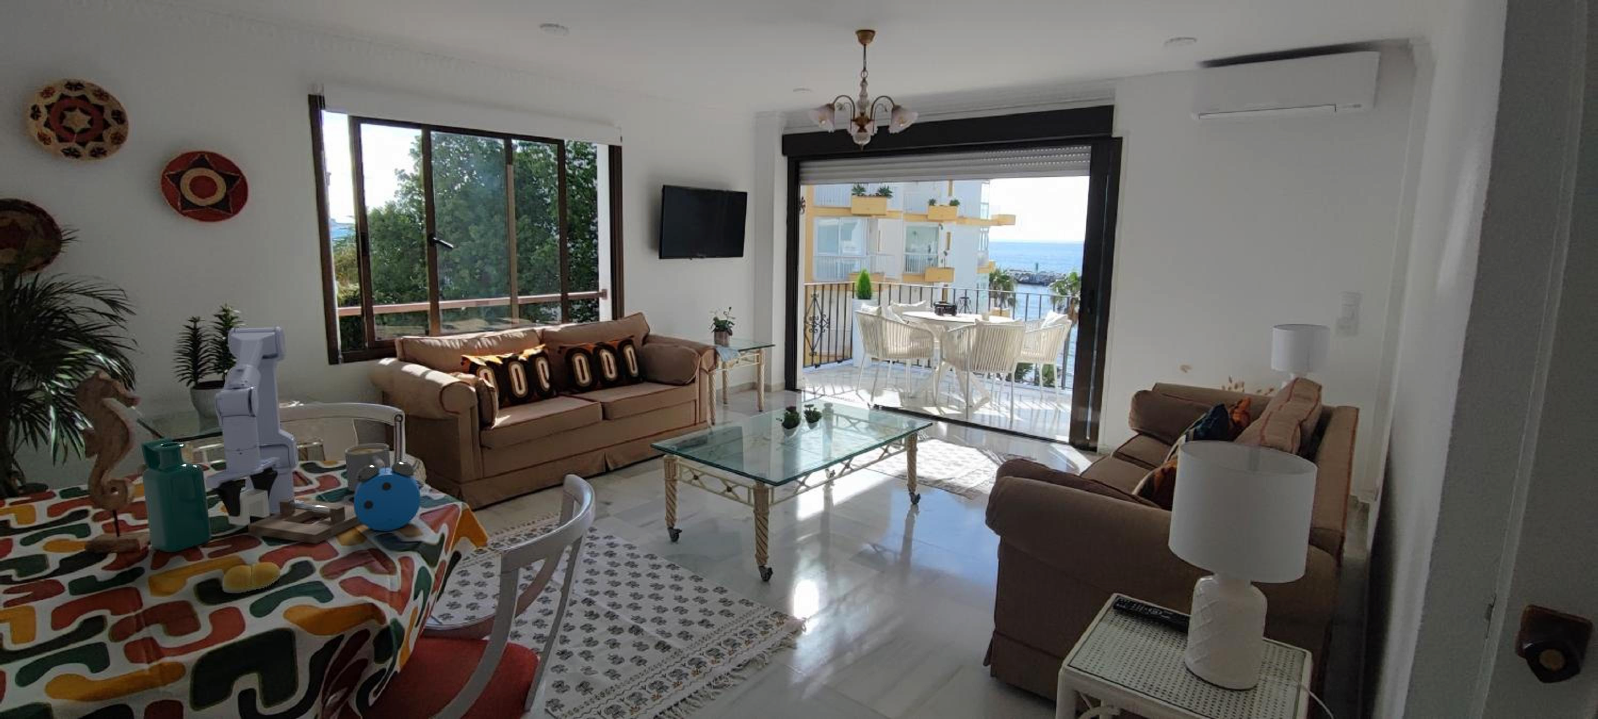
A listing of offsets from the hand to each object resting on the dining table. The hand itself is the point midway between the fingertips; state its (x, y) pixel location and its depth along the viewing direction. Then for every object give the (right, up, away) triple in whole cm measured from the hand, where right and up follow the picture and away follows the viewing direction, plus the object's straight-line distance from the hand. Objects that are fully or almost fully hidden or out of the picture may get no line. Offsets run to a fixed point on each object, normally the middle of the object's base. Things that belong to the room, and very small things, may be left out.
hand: (248, 510), depth 158 cm
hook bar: (+4, -3, +15) cm, 16 cm away
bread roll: (+9, -12, -12) cm, 20 cm away
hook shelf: (+4, -6, +16) cm, 17 cm away
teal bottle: (-18, -8, +5) cm, 20 cm away
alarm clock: (+21, -7, +15) cm, 27 cm away
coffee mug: (+3, -2, +40) cm, 40 cm away
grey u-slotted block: (0, -2, 0) cm, 2 cm away
